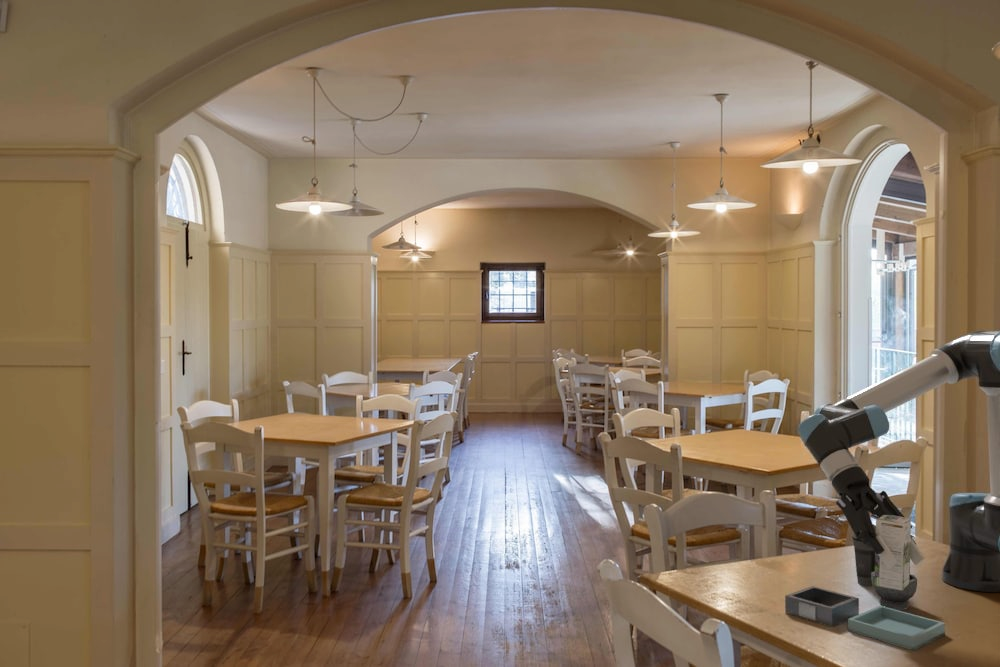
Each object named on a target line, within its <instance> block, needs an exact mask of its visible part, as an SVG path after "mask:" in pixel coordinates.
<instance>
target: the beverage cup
mask: <svg viewBox="0 0 1000 667" xmlns="http://www.w3.org/2000/svg"><path fill="white" fill-rule="evenodd" d="M868 512H869V511H868ZM869 515H871V513H870V512H869ZM872 524H873V523H872ZM873 527H874V530H875V533H876V524H873ZM860 532H861V531H860ZM875 537H876V536H875ZM851 538H852V543H853V544H852V545H853V549H854V560H855V568H856V569H855V572H856V578H857V579H856V580H857V584H859V585H860V586H864V587H869V586H873V585H872V580H871V572H874V571H875V551H874V550H873V548H872V547H871V545H870V544H869V542H868V543H867V544H864V543H863V542H862V541H863V539H862V540H858V539H857V537H856V535H855V534H854V532H853V531H852V536H851Z"/></svg>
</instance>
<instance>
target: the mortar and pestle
mask: <svg viewBox="0 0 1000 667" xmlns="http://www.w3.org/2000/svg"><path fill="white" fill-rule="evenodd" d="M871 580H872V585H873V587H872V588H873V589H874V591H875V592H876V595H878V596H879V601H878V602H879V604H880V605H879V606H885V607H887V608H891V609H892V608H893V609H895V610H906V609H909V601H910V599H911V598H913V597H914V595H915V593H916V592H917V587H918V578H917V577H916V575H914V574H911V573H910V581H909V585H908V586H907V587H906V588H905V589H904V590H897V589H890V588H885V587H880V586H875V585H874V582H875V571H874V572H871ZM905 608H906V609H905Z"/></svg>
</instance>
